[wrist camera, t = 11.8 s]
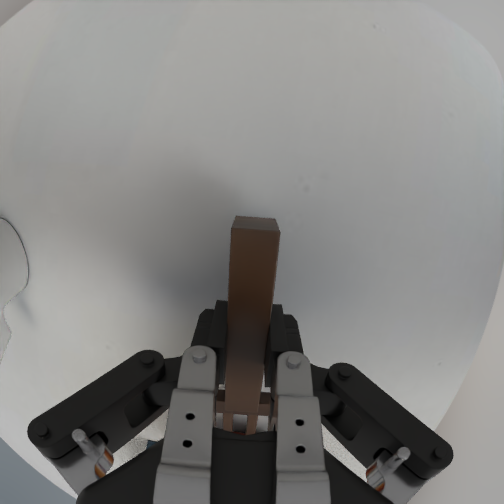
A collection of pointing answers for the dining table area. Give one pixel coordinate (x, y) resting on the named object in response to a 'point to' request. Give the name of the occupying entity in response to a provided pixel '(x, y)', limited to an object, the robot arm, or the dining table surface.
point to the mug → (10, 275)
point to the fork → (248, 318)
